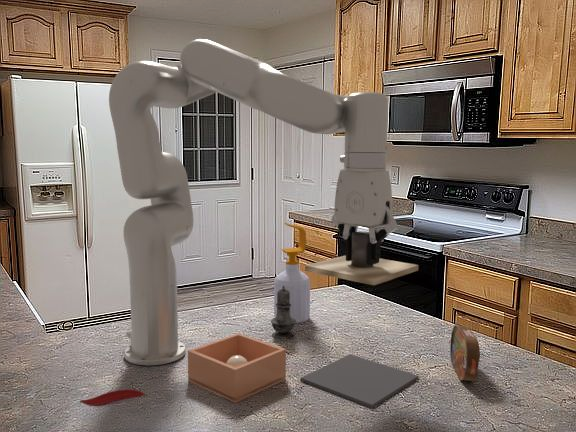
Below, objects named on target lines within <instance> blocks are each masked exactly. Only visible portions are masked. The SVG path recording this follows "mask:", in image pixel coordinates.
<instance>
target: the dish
mask: <svg viewBox="0 0 576 432" xmlns="http://www.w3.org/2000/svg"><path fill="white" fill-rule="evenodd" d="M286 352H287V348H283V347H280V346H277V345H275V344H271V343H268V342H265V341H262V340H260V339H257V338H253V337H251V336H247V335H245V334H242V333H239V332H238V333H234V334H233V335H230V336H226V337H223V338H221V339H218V340H215V341H211V342H209V343H206V344H203V345H200V346H198V347H195V348H194V347H193V348H192V349H189V350H187V375H188V376H187V380H188V382H189V383H192V384H194V385H195V386H197V387H200V388H202V389H204V390H206V391H209V392H211V393H213V394H215V395H217V396H219V397H222V398H223V399H224V398H225V399H226V400H228V401H230V402H232V403H238V402H241V401H243V400H245V399H247V398H249V397H251V396H253V395H255V394H257V393H259V392H262V391H265V390H266V389H269V388H271V387H273V386H275V385H277V384H279V383H281V382H284V381H286V380H287V379H286V377H287V376H286V375H287V373H286V369H287V365H286V364H287V361H286V360H287V353H286Z"/></svg>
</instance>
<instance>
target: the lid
mask: <svg viewBox="0 0 576 432" xmlns="http://www.w3.org/2000/svg"><path fill="white" fill-rule="evenodd" d="M368 243H370V236H369V231H357V232H353V233H352V256H351V261H346V254H345V255H342V256H338V257H334V258H330V259H326V260H321V261H318V262H313V263H310V264H305V265H304V271H305V272H307V273H308V272H309V273H314V274H317V275H318V274H319V275H324V276H328V277H333V278H336V279H337V278H338V279H343V280H346V281H351V282H356V283H362V284H365V285H370V286H377V285H379V284H382V283H385V282H388V281H391V280H394V279H397V278H399V277H403V276H406V275H409V274H412V273H414V272H418V271H419V264H415V263H408V262H403V261H397V260H390V259H385V258H380V259H379V263H377V264H373V265H368V264H367V244H368Z"/></svg>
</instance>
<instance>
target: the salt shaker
mask: <svg viewBox="0 0 576 432" xmlns="http://www.w3.org/2000/svg"><path fill="white" fill-rule="evenodd" d="M282 288H283V289H281V290H279V291H278V293H277V304H276V306H277V315H276V318H275V317H273V318H271V320H270V323H271V326H272V328H273V330H274V332H273V333H272V334H271V337H272V338H273V339H276V340H282V341H283V340H285V341H286V340H292V339H293V338H294V337H295V336H296V335H295V333H293V332H292V331H293V330H294V328H295V324H297V323H296V320H295V319H293V318H291V316H290V306H291V304H290V293H289V291H288V290H286V289H285V287H284V286H283V287H282Z"/></svg>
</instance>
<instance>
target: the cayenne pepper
mask: <svg viewBox="0 0 576 432" xmlns="http://www.w3.org/2000/svg"><path fill="white" fill-rule="evenodd" d="M142 396H144V397H145V396H146V397H147V396H148V395H147V394H146V393H144V392H142V391H140V390H136V389H130V388H129V389H128V388H126V389H118V390H114V391H109V392H105V393H103V394H99V395H97V396H95V397H91V398H89V399H82V400H80V402H82V403H85V406H95V407H96V406H97V407H98V406H104V405H107V404H111V403H115V402H118V401H119V402H120V401H122V400H128V399H135V398H140V397H142Z"/></svg>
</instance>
